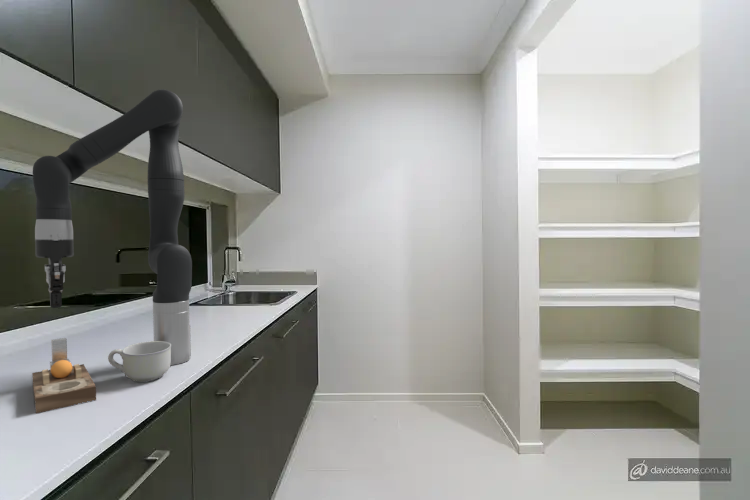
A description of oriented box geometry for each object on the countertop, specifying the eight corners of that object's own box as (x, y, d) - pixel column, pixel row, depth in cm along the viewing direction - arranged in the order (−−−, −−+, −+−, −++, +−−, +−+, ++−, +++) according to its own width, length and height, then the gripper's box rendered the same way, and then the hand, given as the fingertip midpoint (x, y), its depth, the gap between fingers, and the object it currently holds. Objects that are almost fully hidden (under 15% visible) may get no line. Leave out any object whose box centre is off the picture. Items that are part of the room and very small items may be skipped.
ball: (60, 374, 96) (60, 357, 96) (77, 374, 96) (76, 357, 96) (46, 380, 92) (45, 362, 92) (63, 380, 92) (62, 363, 92)
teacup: (179, 370, 108) (178, 340, 108) (158, 385, 97) (158, 352, 97) (125, 371, 107) (124, 341, 107) (98, 386, 97) (98, 352, 96)
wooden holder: (32, 385, 97) (32, 364, 97) (83, 375, 104) (83, 356, 104) (36, 413, 82) (35, 388, 81) (96, 400, 88) (95, 377, 88)
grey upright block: (50, 371, 98) (49, 340, 97) (68, 368, 100) (67, 337, 100) (51, 375, 95) (50, 343, 94) (70, 372, 97) (69, 340, 97)
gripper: (34, 238, 104) (35, 305, 105) (36, 238, 94) (37, 312, 95) (70, 238, 109) (71, 302, 110) (76, 238, 99) (77, 309, 100)
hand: (56, 307), depth 102 cm, fingers closed
